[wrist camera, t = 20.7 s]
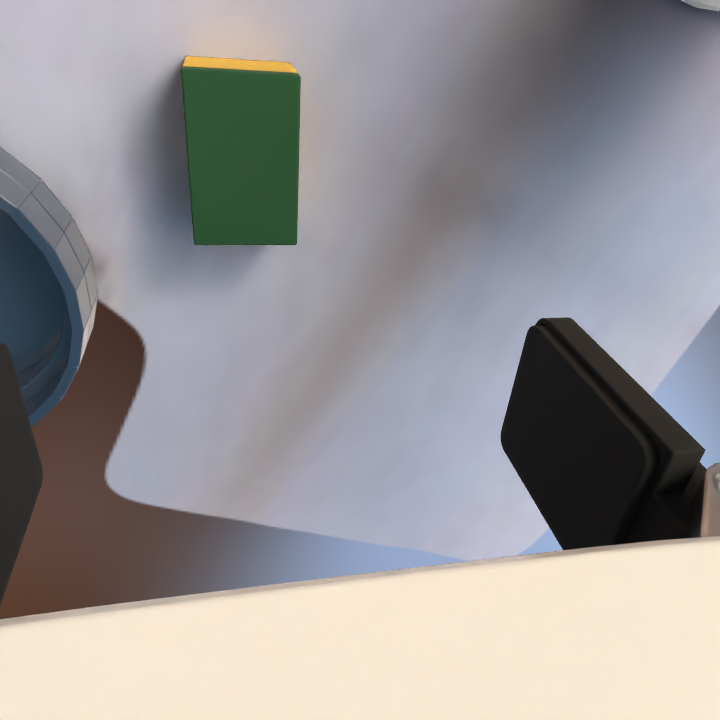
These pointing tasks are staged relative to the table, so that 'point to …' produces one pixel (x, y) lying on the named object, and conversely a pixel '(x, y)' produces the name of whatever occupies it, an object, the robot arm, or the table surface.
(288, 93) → the sponge
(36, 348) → the bowl
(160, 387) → the table surface
